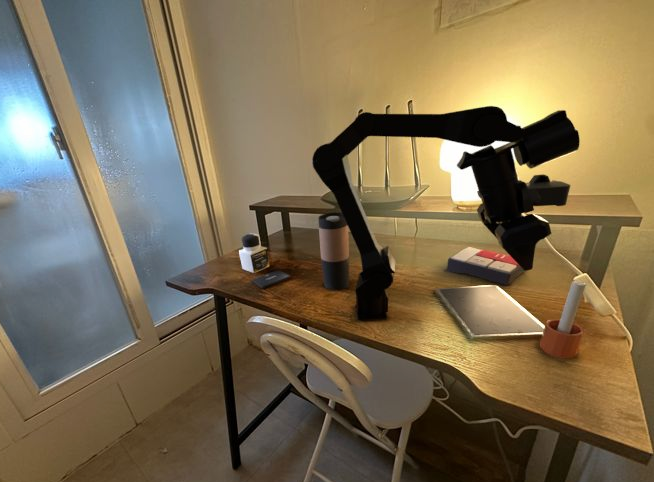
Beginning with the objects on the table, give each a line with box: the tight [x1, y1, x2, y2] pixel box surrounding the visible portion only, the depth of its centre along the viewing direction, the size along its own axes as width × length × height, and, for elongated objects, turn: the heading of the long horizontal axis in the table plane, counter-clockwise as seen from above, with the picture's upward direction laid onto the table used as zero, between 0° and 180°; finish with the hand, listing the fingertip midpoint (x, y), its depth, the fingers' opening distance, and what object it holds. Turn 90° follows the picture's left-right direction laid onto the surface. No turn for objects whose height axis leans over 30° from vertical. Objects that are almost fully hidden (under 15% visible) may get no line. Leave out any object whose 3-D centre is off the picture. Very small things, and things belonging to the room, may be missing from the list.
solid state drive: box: [252, 269, 291, 289], centre depth 95 cm, size 7×10×1 cm
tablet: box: [434, 284, 545, 341], centre depth 66 cm, size 14×20×1 cm
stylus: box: [557, 280, 587, 334], centre depth 50 cm, size 2×2×13 cm
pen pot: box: [539, 318, 586, 359], centre depth 52 cm, size 5×5×5 cm
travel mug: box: [317, 212, 350, 291], centre depth 83 cm, size 8×8×20 cm
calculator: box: [446, 246, 525, 286], centre depth 82 cm, size 11×4×15 cm
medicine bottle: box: [238, 233, 270, 274], centre depth 104 cm, size 7×7×12 cm
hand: (519, 259), depth 56 cm, fingers open, 9 cm apart
